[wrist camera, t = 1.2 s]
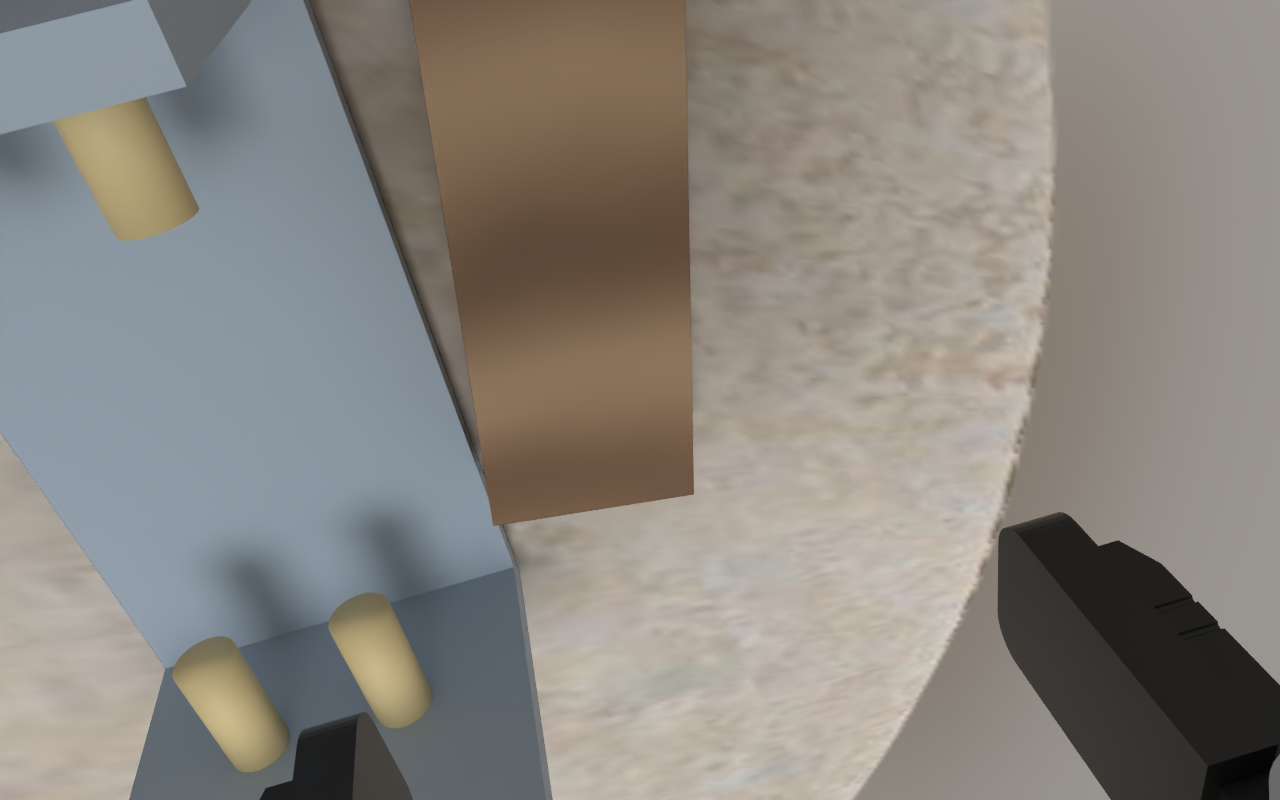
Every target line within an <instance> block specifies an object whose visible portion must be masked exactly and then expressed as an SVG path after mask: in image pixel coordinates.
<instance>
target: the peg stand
mask: <svg viewBox="0 0 1280 800" xmlns="http://www.w3.org/2000/svg"><path fill="white" fill-rule="evenodd" d="M0 432H1V434H2V435H3V437H4V438H5V440H6V441H7V442H8V444H9V445H10V447H11V448H12V450H13V451H14V453H15V454H16V455H17V457H18V458H19V460H20V461H21V463H22V464H23V465H24V467H25V468H26V470H27V471H28V473H29V474H30V475H31V477H32V478H33V480H34V481H35V483H36V484H37V485H38V487H39V488H40V490H41V491H42V493H43V494H44V495H45V497H46V498H47V500H48V501H49V503H50V504H51V505H52V507H53V508H54V510H55V511H56V513H57V514H58V515H59V517H60V518H61V520H62V521H63V523H64V524H65V526H66V527H67V528H68V530H69V531H70V533H71V534H72V536H73V537H74V538H75V540H76V541H77V543H78V544H79V546H80V547H81V548H82V550H83V551H84V553H85V554H86V556H87V557H88V558H89V560H90V561H91V563H92V564H93V566H94V567H95V568H96V570H97V571H98V573H99V574H100V576H101V577H102V578H103V580H104V581H105V583H106V584H107V586H108V587H109V589H110V590H111V591H112V593H113V594H114V596H115V597H116V599H117V600H118V601H119V603H120V604H121V606H122V607H123V609H124V610H125V611H126V613H127V614H128V616H129V617H130V619H131V620H132V621H133V623H134V624H135V626H136V627H137V629H138V630H139V631H140V633H141V634H142V636H143V637H144V639H145V640H146V641H147V643H148V644H149V646H150V647H151V649H152V650H153V651H154V653H155V654H156V656H157V657H158V659H159V660H160V662H161V663H162V664H163V666H164V667H165V673H164V676H163V680H162V684H161V687H160V691H159V694H158V698H157V702H156V705H155V709H154V712H153V716H152V720H151V723H150V727H149V730H148V734H147V738H146V741H145V745H144V748H143V752H142V756H141V759H140V763H139V766H138V770H137V774H136V777H135V781H134V784H133V788H132V792H131V795H130V799H129V800H259V799H260V798H261V796H262V794H263V792H264V790H265V788H267V787H271V786H274V785H278V784H281V783H285V782H288V781H291V780H293V772H294V764H295V756H296V748H297V741H298V738H299V735H300V733H301V731H302V730H303V729H306V728H310V727H313V726H317V725H320V724H323V723H327V722H330V721H334V720H337V719H341V718H344V717H348V716H351V715H354V714H358V713H361V712H366V713H368V714H369V715H370V717H371V718H372V720H373V721H374V723H375V725H376V727H377V729H378V731H379V733H380V734H381V736H382V738H383V740H384V742H385V744H386V746H387V748H388V749H389V751H390V753H391V755H392V757H393V759H394V761H395V762H396V764H397V766H398V768H399V770H400V772H401V774H402V776H403V777H404V779H405V781H406V783H407V785H408V787H409V790H410V792H411V796H412V799H413V800H552V793H551V786H550V779H549V772H548V765H547V758H546V751H545V744H544V737H543V730H542V723H541V716H540V709H539V702H538V696H537V689H536V682H535V675H534V668H533V661H532V654H531V647H530V640H529V633H528V626H527V619H526V612H525V605H524V598H523V592H522V585H521V578H520V572H519V569H518V567H517V564H516V561H515V559H514V556H513V553H512V550H511V548H510V545H509V542H508V540H507V537H506V534H505V531H504V529H503V526H502V525H497V526H493V522H492V516H491V510H490V503H489V497H488V491H487V485H486V480H485V477H484V475H483V472H482V469H481V466H480V464H479V461H478V458H477V456H476V453H475V450H474V447H473V445H472V442H471V439H470V437H469V434H468V431H467V428H466V426H465V423H464V420H463V418H462V415H461V412H460V409H459V407H458V404H457V401H456V399H455V396H454V393H453V390H452V388H451V385H450V382H449V380H448V377H447V374H446V371H445V369H444V366H443V363H442V361H441V358H440V355H439V352H438V350H437V347H436V344H435V342H434V339H433V336H432V333H431V331H430V328H429V325H428V323H427V320H426V317H425V314H424V312H423V309H422V306H421V304H420V301H419V298H418V295H417V293H416V290H415V287H414V285H413V282H412V279H411V277H410V274H409V271H408V268H407V266H406V263H405V260H404V258H403V255H402V252H401V249H400V247H399V244H398V241H397V239H396V236H395V233H394V230H393V228H392V225H391V222H390V220H389V217H388V214H387V211H386V209H385V206H384V203H383V201H382V198H381V195H380V192H379V190H378V187H377V184H376V182H375V179H374V176H373V173H372V171H371V168H370V165H369V163H368V160H367V157H366V154H365V152H364V149H363V146H362V144H361V141H360V138H359V135H358V133H357V130H356V127H355V125H354V122H353V119H352V116H351V114H350V111H349V108H348V106H347V103H346V100H345V98H344V95H343V92H342V89H341V87H340V84H339V81H338V79H337V76H336V73H335V70H334V68H333V65H332V62H331V60H330V57H329V54H328V51H327V49H326V46H325V43H324V41H323V38H322V35H321V32H320V30H319V27H318V24H317V22H316V19H315V16H314V13H313V11H312V8H311V5H310V3H309V0H0Z"/></svg>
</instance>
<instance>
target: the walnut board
mask: <svg viewBox="0 0 1280 800" xmlns="http://www.w3.org/2000/svg"><path fill="white" fill-rule="evenodd" d="M409 1H410V7H411V14H412V20H413V26H414V32H415V39H416V45H417V51H418V58H419V64H420V70H421V76H422V83H423V89H424V95H425V102H426V108H427V114H428V120H429V127H430V133H431V139H432V146H433V152H434V158H435V164H436V171H437V177H438V183H439V189H440V196H441V202H442V208H443V215H444V221H445V227H446V233H447V240H448V246H449V252H450V259H451V265H452V271H453V277H454V284H455V290H456V296H457V303H458V309H459V315H460V321H461V328H462V334H463V340H464V346H465V353H466V359H467V365H468V372H469V378H470V384H471V390H472V397H473V403H474V409H475V416H476V422H477V428H478V434H479V441H480V447H481V453H482V460H483V466H484V472H485V478H486V485H487V491H488V497H489V503H490V510H491V516H492V522H493V526H497V525H504V524H510V523H516V522H523V521H529V520H535V519H541V518H548V517H554V516H560V515H567V514H573V513H579V512H586V511H592V510H598V509H604V508H611V507H617V506H623V505H630V504H636V503H642V502H649V501H655V500H661V499H668V498H674V497H680V496H686V495H693V494H694V478H693V422H692V366H691V310H690V254H689V198H688V142H687V87H686V31H685V0H409Z"/></svg>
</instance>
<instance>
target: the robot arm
mask: <svg viewBox="0 0 1280 800" xmlns="http://www.w3.org/2000/svg"><path fill="white" fill-rule="evenodd" d="M998 544H999V545H998V546H999V547H998V618H999V624H1000V628H1001V631H1002V635H1003V638H1004V640H1005V643H1006V645H1007V647H1008V650H1009V652H1010V654H1011V655H1012V657H1013V659H1014V660H1015V662H1016V664H1017V665H1018V666H1019V668H1020V670H1021V671H1022V672H1023V674H1024V675H1025V677H1026V678H1027V680H1028V681H1029V682H1030V684H1031V685H1032V687H1033V688H1034V690H1035V691H1036V692H1037V694H1038V695H1039V697H1040V698H1041V700H1042V701H1043V703H1044V704H1045V705H1046V707H1047V708H1048V710H1049V711H1050V713H1051V714H1052V716H1053V717H1054V718H1055V720H1056V721H1057V723H1058V724H1059V726H1060V727H1061V728H1062V730H1063V731H1064V733H1065V734H1066V736H1067V737H1068V739H1069V740H1070V741H1071V743H1072V744H1073V746H1074V747H1075V749H1076V750H1077V752H1078V753H1079V754H1080V756H1081V757H1082V759H1083V760H1084V762H1085V763H1086V764H1087V766H1088V767H1089V769H1090V770H1091V772H1092V773H1093V774H1094V776H1095V777H1096V779H1097V780H1098V782H1099V783H1100V785H1101V786H1102V787H1103V789H1104V790H1105V792H1106V793H1107V795H1108V796H1109V797H1110V799H1111V800H1280V685H1279V684H1278V683H1277V682H1276V681H1275V680H1274V679H1273V678H1272V677H1271V676H1270V675H1269V674H1268V673H1267V672H1266V671H1265V670H1264V669H1263V668H1262V667H1261V666H1260V665H1259V663H1258V662H1257V661H1256V660H1254V658H1253V657H1252V656H1251V655H1250V654H1249V653H1248V652H1247V651H1246V650H1245V649H1244V648H1243V647H1242V646H1241V645H1240V644H1239V643H1238V642H1237V641H1236V640H1235V639H1234V638H1233V637H1232V636H1231V635H1230V634H1229V633H1228V632H1227V631H1226V630H1225V629H1220V627H1219V626H1218V621H1217V620H1216V619H1214V617H1213V616H1212V615H1211V614H1210V613H1209V612H1208V611H1207V610H1206V609H1205V608H1204V607H1203V606H1202V605H1201V604H1200V603H1199V602H1196V603H1195V602H1194V600H1193V598H1192V595H1191V594H1190V593H1189V592H1188V591H1187V590H1186V589H1185V588H1184V587H1183V586H1182V585H1181V584H1180V582H1178V581H1177V579H1175V578H1174V576H1173V575H1172V574H1171V573H1170V572H1169V571H1168V570H1167V569H1166V568H1165V567H1164V566H1163V565H1162V564H1161V563H1159V562H1157V561H1155V560H1154V559H1152V558H1150V557H1148V556H1146V555H1144V554H1142V553H1140V552H1139V551H1137V550H1135V549H1133V548H1131V547H1129V546H1128V545H1125V544H1124V543H1122V542H1120V541H1115V542H1111V543H1108V544H1105V545H1101V546H1097V545H1096V543H1095V542H1094V541H1093V540H1092V539H1091V538H1090V537H1089V536H1088V535H1087V534H1086V533H1085V531H1084V530H1083V529H1082V528H1081V527H1080V526H1079V525H1078V524H1077V523H1076V522H1075V521H1074V520H1073V519H1072V518H1071V517H1070V516H1068V515H1067V514H1065V513H1061V512H1058V513H1055V514H1051V515H1048V516H1044V517H1041V518H1037V519H1034V520H1031V521H1027V522H1024V523H1020V524H1017V525H1013V526H1010V527H1007V528H1003V529H1002V530H1001V532H1000V535H999V543H998ZM259 800H413V799H412V796H411V792H410V790H409V787H408V785H407V783H406V781H405V779H404V777H403V776H402V774H401V772H400V770H399V768H398V766H397V764H396V762H395V761H394V759H393V757H392V755H391V753H390V751H389V749H388V748H387V746H386V744H385V742H384V740H383V738H382V736H381V734H380V733H379V731H378V729H377V727H376V725H375V723H374V721H373V720H372V718H371V717H370V715H369V714H368V713H366V712H361V713H358V714H354V715H351V716H348V717H344V718H341V719H337V720H334V721H330V722H327V723H323V724H320V725H317V726H313V727H310V728H306V729H303V730H302V731H301V733H300V735H299V738H298V741H297V748H296V756H295V764H294V772H293V780H291V781H288V782H285V783H281V784H278V785H274V786H271V787H267V788H265V790H264V792H263V794H262V796H261V798H260V799H259Z"/></svg>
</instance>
